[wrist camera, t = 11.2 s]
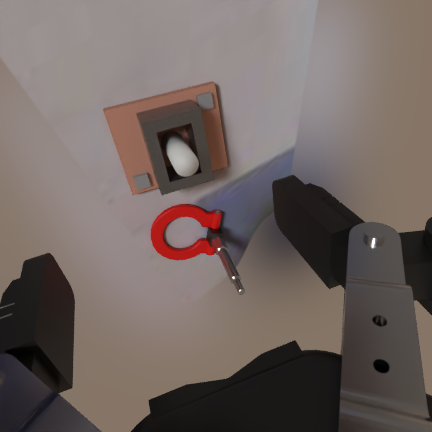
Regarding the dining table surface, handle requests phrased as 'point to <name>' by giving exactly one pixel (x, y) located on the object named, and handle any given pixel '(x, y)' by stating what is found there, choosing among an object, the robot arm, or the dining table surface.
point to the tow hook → (207, 246)
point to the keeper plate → (135, 137)
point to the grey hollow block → (194, 125)
